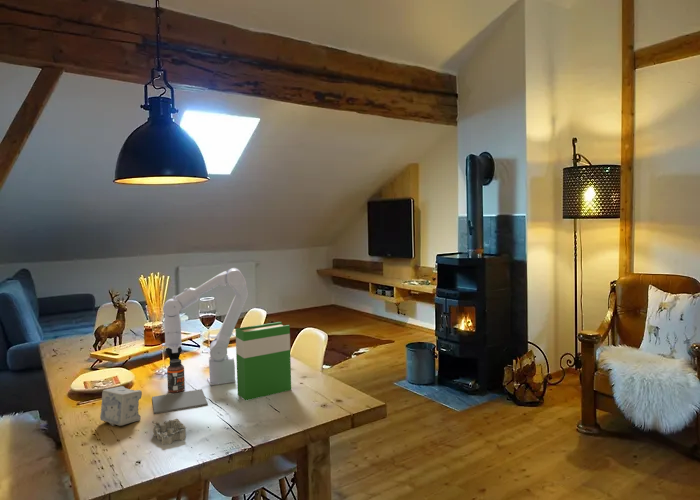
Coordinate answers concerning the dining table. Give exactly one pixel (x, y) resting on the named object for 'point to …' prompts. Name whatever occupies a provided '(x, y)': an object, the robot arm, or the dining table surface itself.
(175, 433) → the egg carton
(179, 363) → the supplement bottle
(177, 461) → the dining table surface
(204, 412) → the dining table surface
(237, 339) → the hardback book
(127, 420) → the incense holder
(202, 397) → the mat
